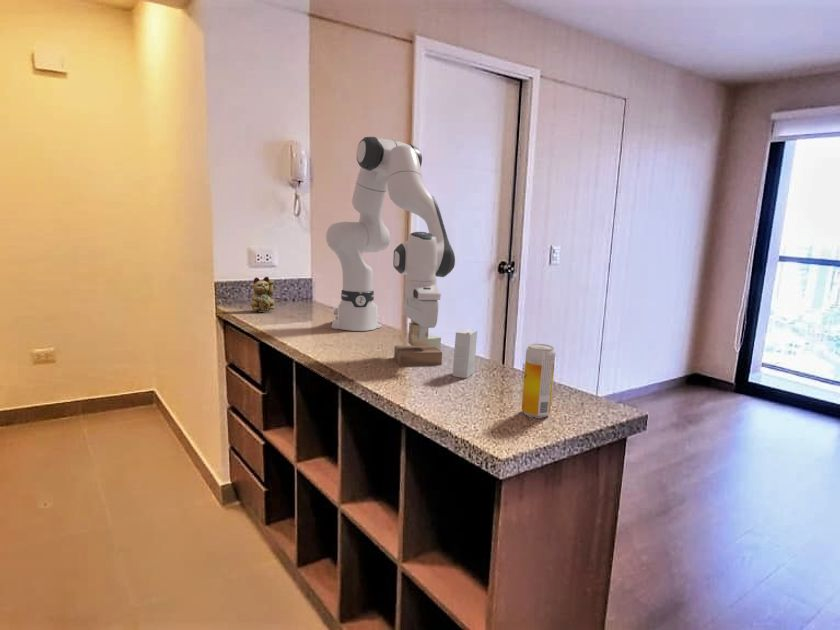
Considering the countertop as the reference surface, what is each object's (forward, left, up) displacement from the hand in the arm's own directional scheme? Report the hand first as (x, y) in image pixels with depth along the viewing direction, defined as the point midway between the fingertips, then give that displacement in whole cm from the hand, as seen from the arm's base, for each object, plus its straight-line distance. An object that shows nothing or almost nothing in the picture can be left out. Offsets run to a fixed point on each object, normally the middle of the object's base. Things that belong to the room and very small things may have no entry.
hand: (418, 337), depth 155 cm
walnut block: (0, 0, -8) cm, 8 cm away
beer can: (+47, +12, -7) cm, 49 cm away
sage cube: (-10, +7, -7) cm, 14 cm away
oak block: (0, 0, -2) cm, 2 cm away
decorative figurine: (-88, -41, -7) cm, 97 cm away
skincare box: (+16, +8, -7) cm, 19 cm away
